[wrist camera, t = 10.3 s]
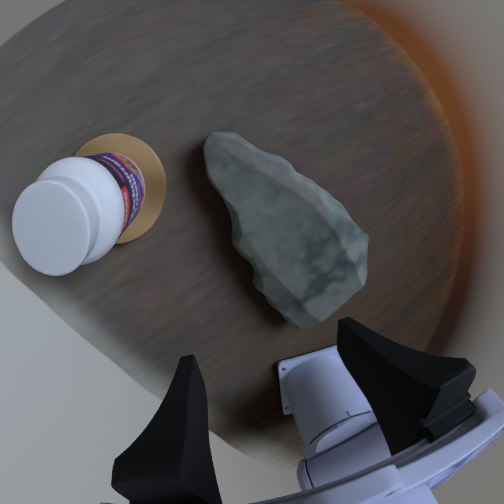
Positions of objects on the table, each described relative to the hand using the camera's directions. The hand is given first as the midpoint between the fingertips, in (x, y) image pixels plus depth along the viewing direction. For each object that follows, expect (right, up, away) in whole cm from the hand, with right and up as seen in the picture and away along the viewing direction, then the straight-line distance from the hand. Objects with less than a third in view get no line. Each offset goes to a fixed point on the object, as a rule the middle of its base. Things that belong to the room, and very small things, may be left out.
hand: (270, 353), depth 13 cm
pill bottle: (-11, +9, +5) cm, 15 cm away
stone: (+2, +7, +9) cm, 12 cm away
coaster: (-11, +9, +5) cm, 15 cm away
